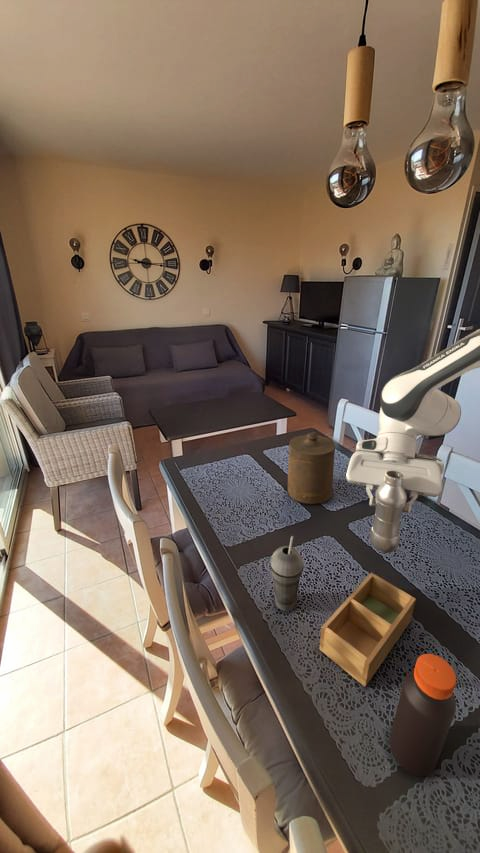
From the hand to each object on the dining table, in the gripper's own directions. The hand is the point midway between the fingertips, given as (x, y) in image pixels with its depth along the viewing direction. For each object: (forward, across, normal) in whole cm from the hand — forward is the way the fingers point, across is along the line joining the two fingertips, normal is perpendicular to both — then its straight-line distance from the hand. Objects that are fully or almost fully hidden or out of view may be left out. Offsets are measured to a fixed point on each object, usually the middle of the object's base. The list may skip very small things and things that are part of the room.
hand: (389, 508), depth 81 cm
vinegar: (+39, -6, +10) cm, 41 cm away
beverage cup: (+25, +20, -4) cm, 32 cm away
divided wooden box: (+26, +2, -2) cm, 27 cm away
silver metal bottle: (+8, 0, -9) cm, 12 cm away
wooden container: (-7, +23, -36) cm, 44 cm away
